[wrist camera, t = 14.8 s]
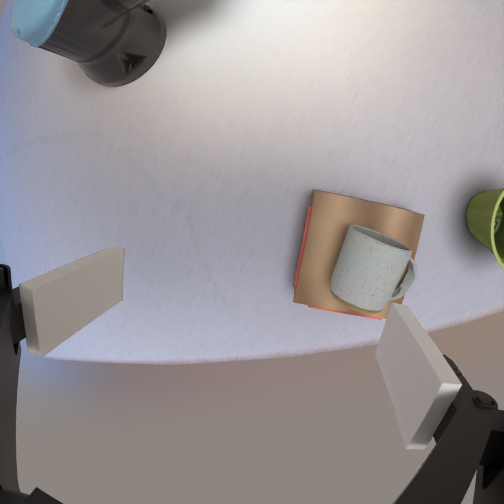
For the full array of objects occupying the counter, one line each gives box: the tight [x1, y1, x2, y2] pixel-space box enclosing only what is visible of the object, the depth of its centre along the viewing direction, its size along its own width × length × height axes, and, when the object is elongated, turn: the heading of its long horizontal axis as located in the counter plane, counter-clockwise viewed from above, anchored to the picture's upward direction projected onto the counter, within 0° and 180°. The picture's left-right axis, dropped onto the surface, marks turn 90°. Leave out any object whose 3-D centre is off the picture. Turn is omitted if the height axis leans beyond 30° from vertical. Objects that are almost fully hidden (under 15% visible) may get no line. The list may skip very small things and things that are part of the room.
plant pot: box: [466, 188, 504, 269], centre depth 34 cm, size 12×12×11 cm
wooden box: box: [293, 190, 424, 320], centre depth 41 cm, size 14×14×6 cm
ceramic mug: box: [330, 225, 417, 314], centre depth 34 cm, size 11×8×8 cm
